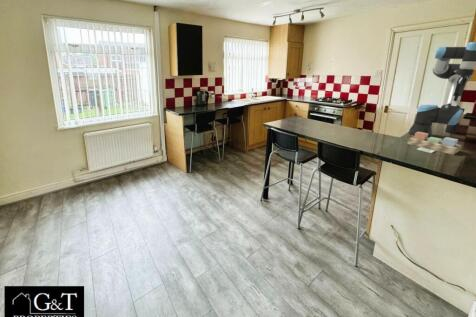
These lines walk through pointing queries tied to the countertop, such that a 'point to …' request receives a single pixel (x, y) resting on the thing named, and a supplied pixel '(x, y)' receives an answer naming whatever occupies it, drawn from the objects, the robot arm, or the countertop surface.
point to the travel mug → (454, 127)
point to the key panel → (434, 146)
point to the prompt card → (426, 150)
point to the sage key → (434, 140)
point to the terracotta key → (421, 136)
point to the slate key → (449, 142)
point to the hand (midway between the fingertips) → (453, 105)
